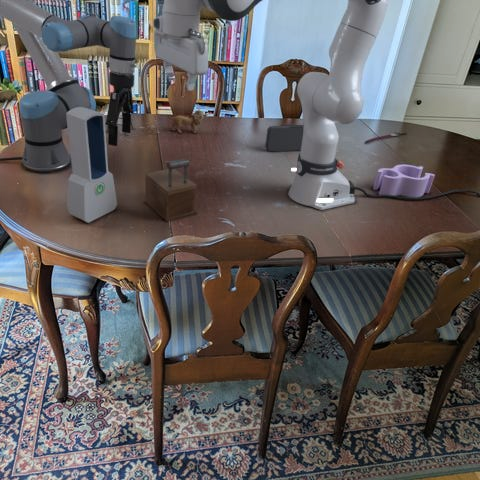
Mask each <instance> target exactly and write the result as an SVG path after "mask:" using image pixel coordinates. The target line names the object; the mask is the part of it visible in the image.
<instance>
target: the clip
mask: <svg viewBox="0 0 480 480" xmlns="http://www.w3.org/2000/svg"><path fill="white" fill-rule="evenodd" d="M423 169H424V166H422V165H419V166H416V165H411V164H396V165H395V166H394V167H391V168H388V167H387V168H385V167H381V168H379V169H378V170H377V174H376V177H375V181H374V184H373V188H372V189H373V191H378V189H379V192H378V195H393V196H401V197H412V198H416V197H424V194H429V193H430V190H431V188H432V185H433V182H434V179H435V175H436V174H434V173H429V172H424V176H422V177H421V175H422V173H423Z"/></svg>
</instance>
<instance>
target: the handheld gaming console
mask: <svg viewBox="0 0 480 480" xmlns="http://www.w3.org/2000/svg"><path fill="white" fill-rule="evenodd" d="M302 139H303V124H292V125H291V124H290V125H289V124H286V125H285V124H284V125H283V124H281V125H270V126H268V127H267V130H266V139H265V145H264V146H265V150H267V151H268V152H289V151H290V152H292V151H294V152H295V151H301V145H302Z"/></svg>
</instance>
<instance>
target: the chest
mask: <svg viewBox="0 0 480 480" xmlns="http://www.w3.org/2000/svg"><path fill="white" fill-rule="evenodd" d="M145 203H146V204H147V205H148V206H149V207H151V209H152V210H153V211H155V212H156V213H157V214H158V216H160V217H161V218H163V219H164V221H166V222H169V221H171V220H176V219H179V218H183V217H186V216H190V215H194V214H195V208H196V207H195V205H196V189H192V190H187V191H183V192H179V193H175V194H171V195H167V194H165V193H164V192H163V191H162V190H161V189H159V188H158V187H157V186H156V185H155V184H153V183H152V182H151V181H150V180H149V179H148V178H146V177H145Z"/></svg>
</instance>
